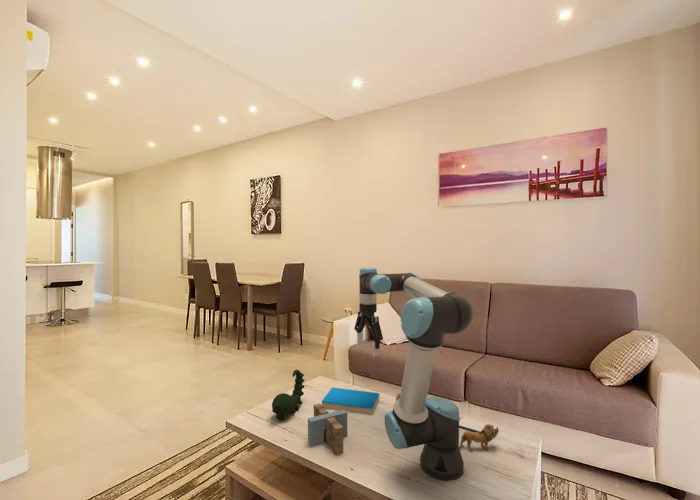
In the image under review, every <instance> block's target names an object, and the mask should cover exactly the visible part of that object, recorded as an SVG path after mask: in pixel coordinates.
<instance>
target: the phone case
mask: <svg viewBox="0 0 700 500" xmlns="http://www.w3.org/2000/svg"><path fill="white" fill-rule="evenodd" d="M459 418H460V420H459V429H462V430H465V431H467V430H468V431H471V432H481V431H482V429H483V428H484V427H485V426H484V425H486V424H487V423H486V422H482V421H479V420H478V421H477V420H474V419H471V418H467V417H459ZM491 425H492V424H491ZM492 426H494V430H495V433H494V436H493V439H494V438H495V437H496V435H497V434H496V433H498V431H499V427H498V426H497V425H496V426H495V425H492Z"/></svg>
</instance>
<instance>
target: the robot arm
mask: <svg viewBox="0 0 700 500" xmlns="http://www.w3.org/2000/svg"><path fill="white" fill-rule="evenodd" d="M358 278H359V292H358V293H359V294H358V295H359V301H358V302H359V304H358V305H359V306H358V307H359V309H358V310H359V311H357V316H356V321H355V325H354V328H353V329H354V331H355V332H356V337H357V338H356V348H359V349H360V348H363V347H364V328H366V326H367V327H368V328H369V330H370V332H371V335H372V338H373V339H372V357H378V356H380V344H381V342H380V341H383V340H384V337H383V333H382V329H381V325H380V319H379V318H380V317H379V316H375V313H377V308H378V306H377V305H378V304H377V296H378V295H385V294H387V293H396V292H398V293H400V292H403V293H405V294H407V295H409V296H410V297H412V298H411V299H409V300H408V301H407V302H406V303H404V305H403V307H402V310H401V313H400V322H401V323H400V324H401V325H400V327H401V331H402V333H403V334H404V336H405V338H406V340H407V341H408V348H407V354H406V359H405V363H404V364H405V366H404V372H403V375H402V376H403V377H402V383H401V387H400V392H399V393H400V399H398V400H396V399H395V402H393V403H394V404H393V406H392V407H393V409H392V411H390V410H389V411H388V412H385V413H384V427H385V432H386V435H387V437H388V439H389V442H390V443H391V445H392V446H393V448H395V449H397V450H404V449H410V448H413V447H417V446H423V447H422V449H421V452H420V454H419V466H420V468H421V470H422V471H423V472H424V473H425V474H427V475H428V476H430V477H432V478H434V479H437V480H440V481H441V480H442V481H453V480H456V479H459V478H460V477H461V476H462V475H464V471H465V462H464V460H463V455H462V453H461V448H460V449H459V447H460V428H459V420H460V418H461V417H460V409H459V406H457V404H455V403H454V402H453V401H451V400H449V399H446V398H442V397H439V396H438V397H437V396H435V397H434V396H430V397H428V394H429V389H430V383H431V380H432V379H431V378H432V373H433V370H434V364H435V358H436V353H437V349H439V348H441V347H443V344H444V340H445V336H446V335H452V334H458V333H461V332H463V331H465V330H466V329H468V328H469V327H470V325H471V324H472V321H473V320H474V308H473V306H472V304H471V302H470V301H469V300H468V299H467V298H466V297H464V296H463V295H461V294H459V293H456V292H453V291H449V292H447V291H445V290H443V289H442V288H439V287H436V286H435V285H432V284H431V283H428V282H426V281H424V280H421V278H420V276H419V274H418V273H413V272H404V273H403V272H402V273H401V272H400V273H380V274H379V273H378V270H377V268H376V267H371V266H370V267H369V266H368V267H367V266H365V267H361V268H360V269H359V275H358ZM377 294H378V295H377Z"/></svg>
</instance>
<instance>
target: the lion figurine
mask: <svg viewBox="0 0 700 500" xmlns="http://www.w3.org/2000/svg"><path fill="white" fill-rule="evenodd" d="M484 426H485V427H484V428H483V429H482V431H481V432H471V431H467V430H465V432H464V433H463V434H462V435H461V439H460V440H461V441H460V442H459V449H460V450H461V448H464V447H465V445H464V443H467V447H466V448H467V449H468V451H469V452H471V453H473V452H474V449H472V448H471V444H473V443H472V442H475V443H477V444H478V443H479V444H480V448H484V451H486V452H489V451H488V450H489V449H488V446H489V445H488V444H489V442H491V441H493V439H494V438H493V436H494V433H495V430H494V426H495V425H493V426H492V424H490V423H486V425H484Z"/></svg>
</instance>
